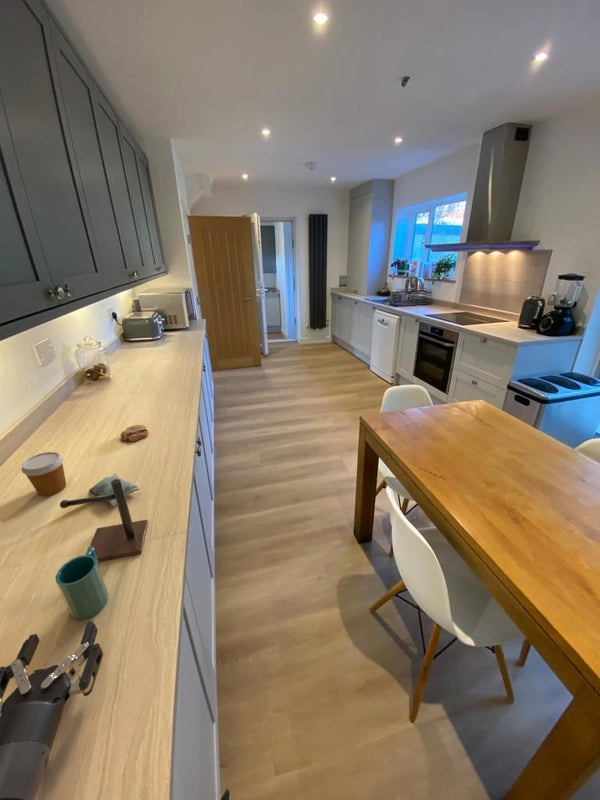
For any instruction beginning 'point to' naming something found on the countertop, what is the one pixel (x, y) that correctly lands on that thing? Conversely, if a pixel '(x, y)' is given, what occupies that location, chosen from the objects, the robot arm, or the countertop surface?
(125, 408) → the countertop surface
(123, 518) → the mug stand
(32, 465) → the disposable coffee cup
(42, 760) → the robot arm
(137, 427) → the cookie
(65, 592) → the mug
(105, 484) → the grey bean bag
